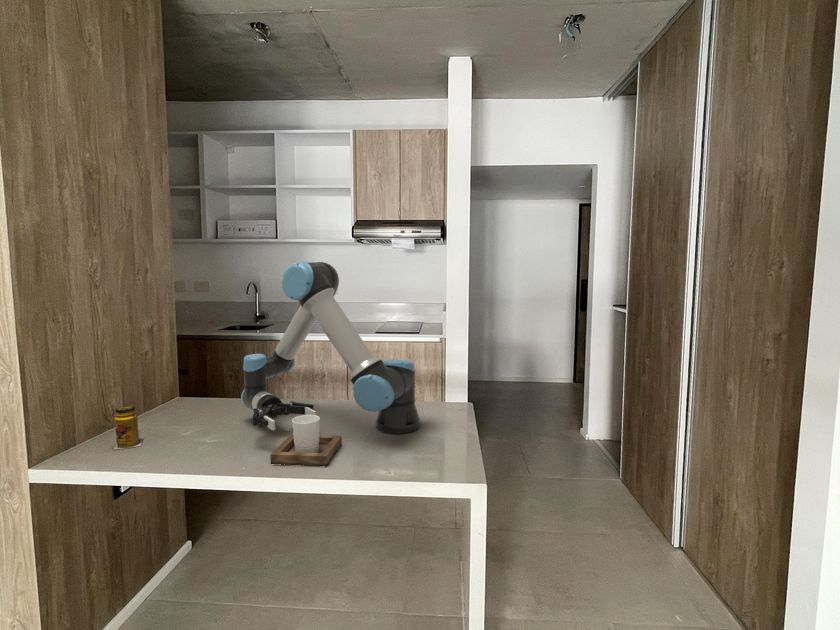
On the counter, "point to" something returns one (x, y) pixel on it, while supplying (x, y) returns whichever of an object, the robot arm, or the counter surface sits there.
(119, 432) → the condiment
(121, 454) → the counter surface
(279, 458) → the wooden tray
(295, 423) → the white cup
